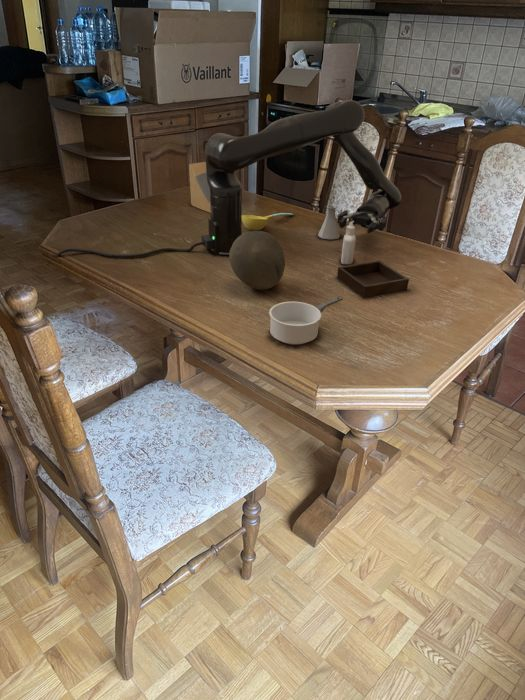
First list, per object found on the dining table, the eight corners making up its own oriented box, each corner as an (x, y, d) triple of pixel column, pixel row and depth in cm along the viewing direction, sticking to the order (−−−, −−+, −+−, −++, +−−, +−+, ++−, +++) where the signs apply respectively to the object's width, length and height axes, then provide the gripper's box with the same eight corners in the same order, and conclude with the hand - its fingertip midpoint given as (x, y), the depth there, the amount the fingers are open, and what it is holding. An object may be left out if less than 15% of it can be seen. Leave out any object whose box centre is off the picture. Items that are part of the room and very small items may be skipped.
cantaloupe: (277, 275, 149) (279, 222, 142) (288, 297, 138) (291, 241, 130) (227, 278, 147) (226, 224, 139) (233, 300, 135) (233, 244, 127)
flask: (340, 240, 174) (344, 210, 169) (318, 239, 174) (321, 209, 169) (338, 233, 181) (341, 203, 175) (317, 232, 181) (319, 202, 175)
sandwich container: (215, 215, 193) (214, 172, 186) (190, 205, 203) (188, 164, 195) (233, 210, 198) (233, 169, 191) (208, 201, 208) (207, 161, 200)
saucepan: (356, 327, 125) (359, 306, 122) (290, 353, 115) (291, 330, 112) (322, 308, 133) (324, 288, 130) (258, 331, 122) (258, 309, 119)
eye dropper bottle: (335, 261, 159) (339, 222, 153) (346, 257, 162) (351, 218, 156) (346, 266, 156) (351, 226, 150) (358, 261, 160) (363, 221, 153)
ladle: (234, 228, 179) (236, 210, 177) (280, 227, 200) (282, 211, 198) (255, 233, 174) (257, 215, 172) (299, 231, 195) (302, 215, 193)
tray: (363, 298, 138) (365, 286, 137) (336, 278, 149) (338, 267, 147) (407, 290, 143) (409, 279, 142) (378, 271, 154) (379, 260, 152)
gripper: (350, 197, 171) (333, 211, 158) (395, 204, 165) (380, 218, 153) (348, 220, 175) (331, 235, 162) (391, 227, 169) (377, 244, 157)
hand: (355, 227), depth 158 cm, fingers open, 8 cm apart
